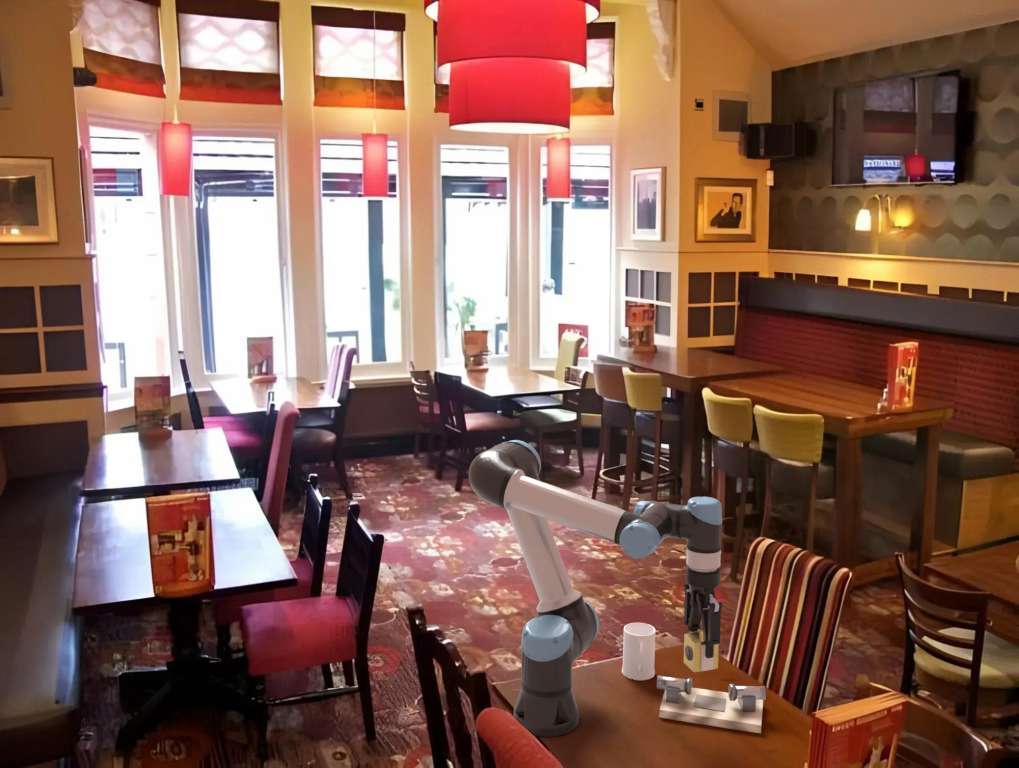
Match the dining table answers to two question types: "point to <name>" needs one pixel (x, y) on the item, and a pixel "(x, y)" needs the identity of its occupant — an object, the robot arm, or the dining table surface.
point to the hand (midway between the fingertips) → (700, 663)
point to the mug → (638, 651)
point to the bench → (712, 710)
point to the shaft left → (674, 687)
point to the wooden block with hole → (696, 651)
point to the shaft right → (746, 696)
